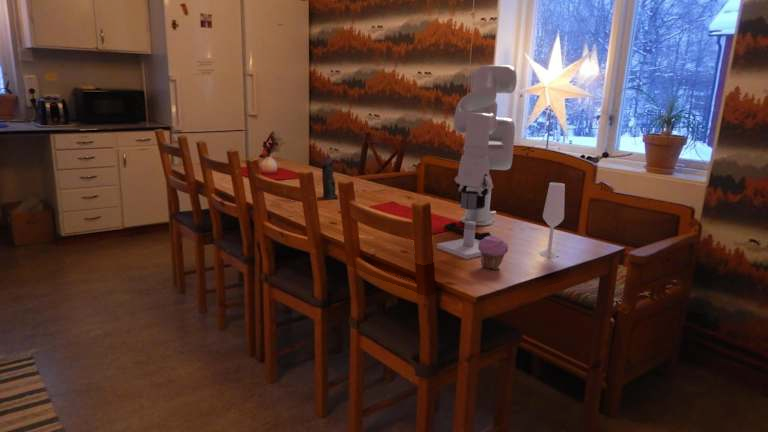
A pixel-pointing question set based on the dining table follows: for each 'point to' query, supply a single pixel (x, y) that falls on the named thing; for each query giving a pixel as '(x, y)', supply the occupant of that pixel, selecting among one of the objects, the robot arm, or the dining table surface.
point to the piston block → (463, 243)
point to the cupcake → (492, 251)
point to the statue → (328, 179)
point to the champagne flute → (553, 213)
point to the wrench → (461, 231)
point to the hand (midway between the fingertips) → (471, 205)
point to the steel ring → (469, 200)
